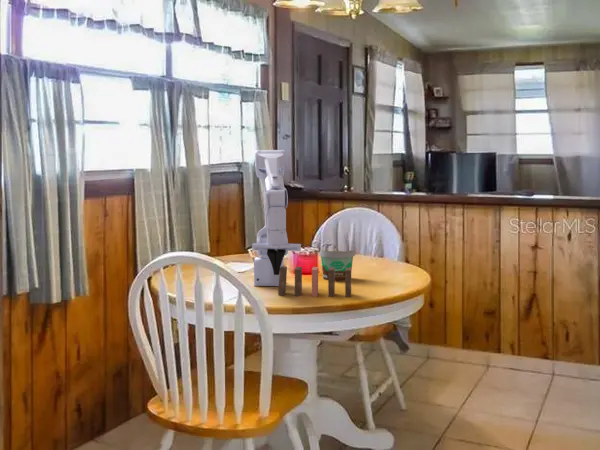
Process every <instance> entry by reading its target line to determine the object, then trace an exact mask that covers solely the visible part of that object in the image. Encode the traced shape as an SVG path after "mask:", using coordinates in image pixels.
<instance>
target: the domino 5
mask: <svg viewBox="0 0 600 450" xmlns="http://www.w3.org/2000/svg"><path fill="white" fill-rule="evenodd" d="M344 282H345V285H344V287H345V289H344V293H345V294H344V295H345V296H344V297H345V298H351V297H352V271H351V268H346V270H345V281H344Z"/></svg>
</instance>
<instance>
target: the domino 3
mask: <svg viewBox="0 0 600 450" xmlns="http://www.w3.org/2000/svg"><path fill="white" fill-rule="evenodd" d="M318 295H319V266H312V268H311V297H318Z"/></svg>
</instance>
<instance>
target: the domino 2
mask: <svg viewBox="0 0 600 450" xmlns="http://www.w3.org/2000/svg"><path fill="white" fill-rule="evenodd" d="M302 283H303V267H302V266H296V267H295V268H294V297H301V295H302V293H303V285H302Z"/></svg>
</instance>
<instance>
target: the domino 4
mask: <svg viewBox="0 0 600 450" xmlns="http://www.w3.org/2000/svg"><path fill="white" fill-rule="evenodd" d="M327 281H328V288H327V289H328V293H327V294H328V296H327V297H329V298H334V297H335V288H336V286H335V283H336V281H335V267H329V270H328V280H327Z"/></svg>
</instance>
